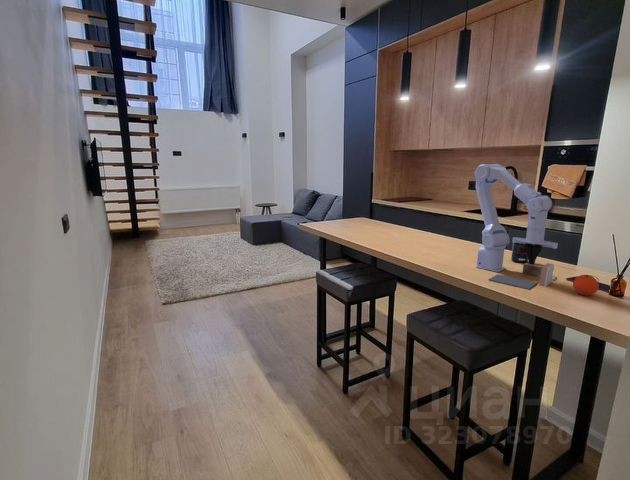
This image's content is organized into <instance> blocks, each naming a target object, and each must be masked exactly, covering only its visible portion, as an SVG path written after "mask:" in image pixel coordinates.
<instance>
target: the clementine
mask: <svg viewBox="0 0 630 480" xmlns="http://www.w3.org/2000/svg"><path fill="white" fill-rule="evenodd" d="M577 276H578V277H577V278H575V280H574V282H572V287H573V289H574V290H575V292H577V293H578V294H580V295H581V296H592V295H594V294H595V293H596V292H597V291H599V290H598V288H599V284H598V282H600V279H599V278H598V276H594V275H591V274H581V275H577Z"/></svg>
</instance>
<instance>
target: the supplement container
mask: <svg viewBox="0 0 630 480" xmlns="http://www.w3.org/2000/svg"><path fill="white" fill-rule="evenodd" d="M524 246H525V244H522V243H512V251H511V260H510V261H512V262H514V263H517V264H525V263H529V261H528V256H527V253H526V250H525V248H524Z"/></svg>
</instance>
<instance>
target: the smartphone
mask: <svg viewBox="0 0 630 480" xmlns="http://www.w3.org/2000/svg"><path fill="white" fill-rule="evenodd" d="M578 276H579V275H577V276H571V277H566V278H565V280H566V281H568V282H572V283H573V282H574V280H575V278H577V277H578ZM598 284H599V288H598V290H597V291H601V292H605V293H610V292H609V290H610V286H611V284H605V283H603V282H600V281H598Z"/></svg>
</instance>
